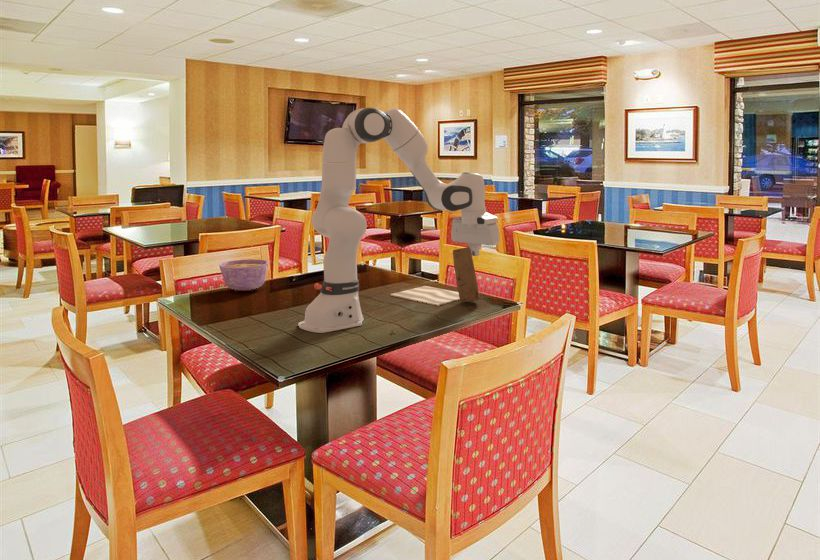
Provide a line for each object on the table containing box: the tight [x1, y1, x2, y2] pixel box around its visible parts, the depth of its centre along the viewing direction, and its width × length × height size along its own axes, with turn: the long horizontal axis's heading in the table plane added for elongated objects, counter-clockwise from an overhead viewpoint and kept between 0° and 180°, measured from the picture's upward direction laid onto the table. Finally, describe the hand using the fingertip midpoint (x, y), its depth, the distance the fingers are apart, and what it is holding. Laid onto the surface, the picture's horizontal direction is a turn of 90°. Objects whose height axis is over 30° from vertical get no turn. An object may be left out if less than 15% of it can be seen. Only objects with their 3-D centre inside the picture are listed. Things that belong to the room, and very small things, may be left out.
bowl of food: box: [219, 258, 269, 291], centre depth 259 cm, size 20×20×12 cm
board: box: [390, 285, 460, 307], centre depth 243 cm, size 20×26×1 cm
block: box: [452, 246, 480, 303], centre depth 229 cm, size 11×8×20 cm
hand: (475, 255), depth 225 cm, fingers closed
